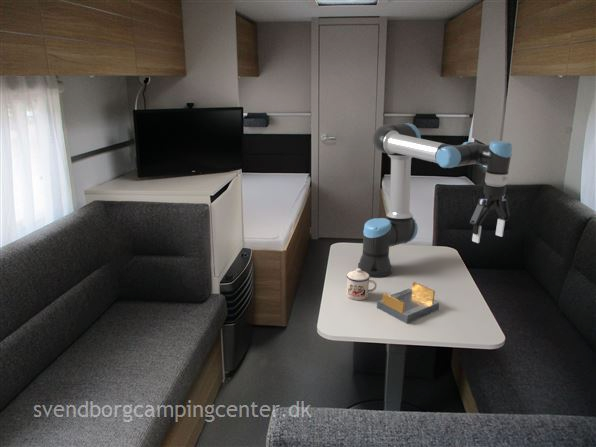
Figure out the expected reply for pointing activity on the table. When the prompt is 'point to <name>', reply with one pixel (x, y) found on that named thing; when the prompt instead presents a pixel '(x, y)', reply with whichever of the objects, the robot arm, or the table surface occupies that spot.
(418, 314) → the grey tray
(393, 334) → the table surface
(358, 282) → the teacup with lid
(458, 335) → the table surface
